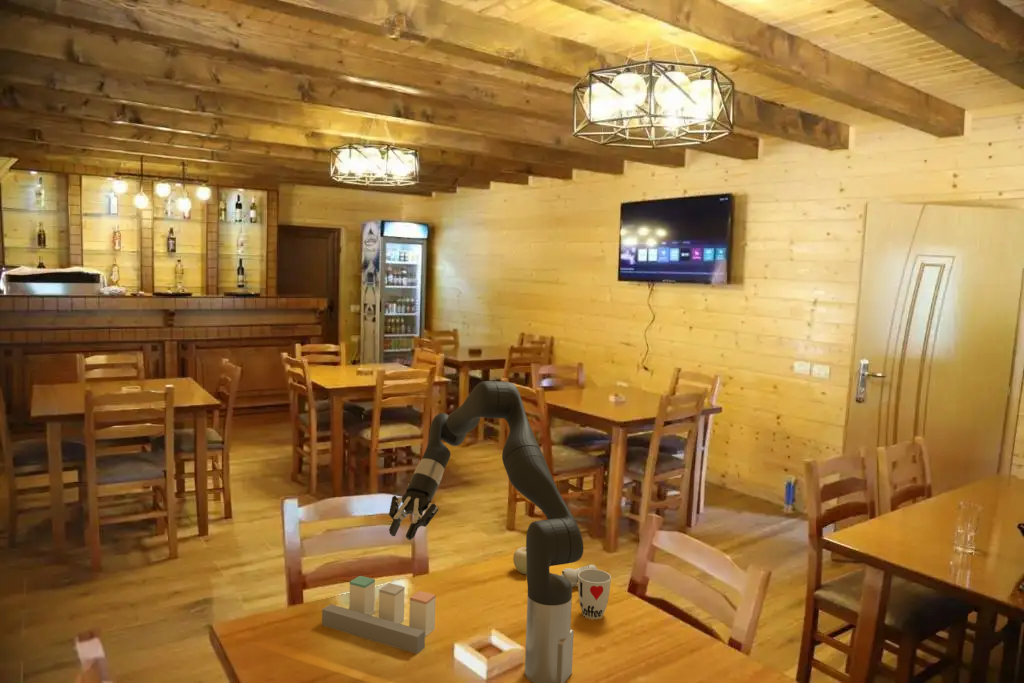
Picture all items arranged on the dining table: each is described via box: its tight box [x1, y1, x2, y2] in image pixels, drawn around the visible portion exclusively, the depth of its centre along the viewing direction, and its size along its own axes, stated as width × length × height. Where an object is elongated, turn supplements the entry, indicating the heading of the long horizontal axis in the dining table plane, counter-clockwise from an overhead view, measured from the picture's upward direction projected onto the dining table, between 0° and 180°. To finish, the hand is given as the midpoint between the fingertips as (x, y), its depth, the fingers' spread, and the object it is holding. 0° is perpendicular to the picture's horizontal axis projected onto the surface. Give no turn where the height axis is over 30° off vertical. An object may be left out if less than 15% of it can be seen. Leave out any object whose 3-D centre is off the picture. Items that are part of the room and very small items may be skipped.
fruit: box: [512, 546, 527, 575], centre depth 199 cm, size 8×7×8 cm
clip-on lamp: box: [560, 564, 598, 589], centre depth 187 cm, size 12×6×18 cm
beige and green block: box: [348, 575, 376, 616], centre depth 169 cm, size 4×4×8 cm
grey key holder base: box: [321, 603, 426, 655], centre depth 165 cm, size 26×16×5 cm, turn 65°
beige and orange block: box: [408, 590, 437, 638], centre depth 162 cm, size 4×4×8 cm
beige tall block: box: [378, 582, 406, 624], centre depth 166 cm, size 4×4×8 cm
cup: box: [577, 569, 612, 620], centre depth 175 cm, size 8×8×10 cm
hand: (400, 536), depth 183 cm, fingers open, 4 cm apart
